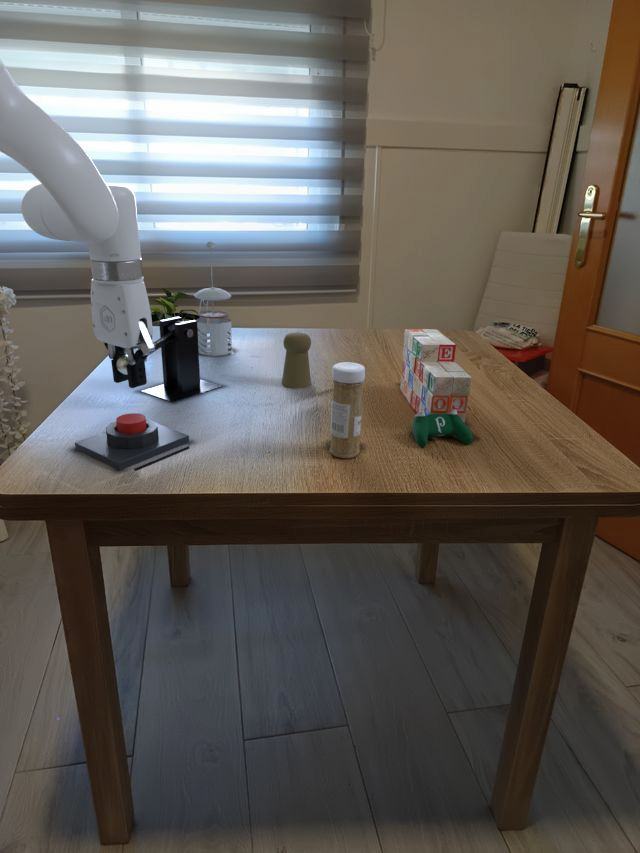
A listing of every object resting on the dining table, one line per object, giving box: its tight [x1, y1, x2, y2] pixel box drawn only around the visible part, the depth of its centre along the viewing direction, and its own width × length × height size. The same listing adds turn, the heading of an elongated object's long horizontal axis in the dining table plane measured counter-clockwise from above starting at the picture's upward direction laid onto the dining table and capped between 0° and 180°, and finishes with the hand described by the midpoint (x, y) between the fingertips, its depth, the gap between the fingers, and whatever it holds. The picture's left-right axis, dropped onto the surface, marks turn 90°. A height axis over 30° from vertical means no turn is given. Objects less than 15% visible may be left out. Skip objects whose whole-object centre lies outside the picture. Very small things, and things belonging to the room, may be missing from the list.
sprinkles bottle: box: [329, 361, 366, 459], centre depth 83 cm, size 5×5×14 cm
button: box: [115, 412, 147, 434], centre depth 81 cm, size 4×4×2 cm
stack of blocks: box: [400, 328, 472, 423], centre depth 102 cm, size 21×6×12 cm, turn 5°
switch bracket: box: [139, 316, 223, 404], centre depth 104 cm, size 12×9×14 cm
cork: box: [281, 331, 312, 390], centre depth 109 cm, size 6×6×11 cm
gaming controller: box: [412, 410, 474, 448], centre depth 90 cm, size 9×4×6 cm
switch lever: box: [117, 320, 185, 374], centre depth 98 cm, size 15×3×3 cm, turn 144°
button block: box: [74, 418, 190, 472], centre depth 82 cm, size 12×10×4 cm
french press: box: [193, 241, 237, 357], centre depth 127 cm, size 10×12×25 cm
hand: (130, 382), depth 96 cm, fingers closed on switch lever, 3 cm apart
